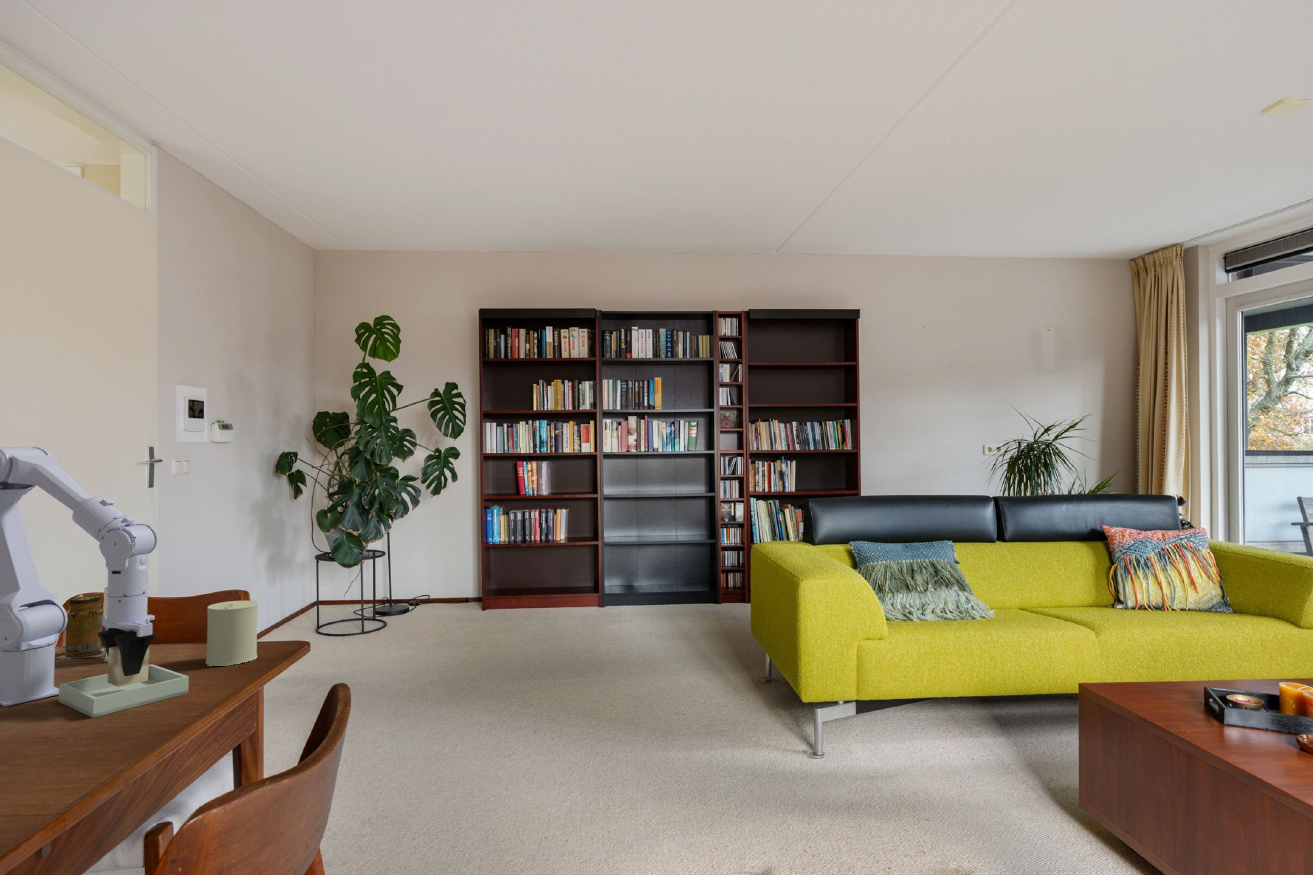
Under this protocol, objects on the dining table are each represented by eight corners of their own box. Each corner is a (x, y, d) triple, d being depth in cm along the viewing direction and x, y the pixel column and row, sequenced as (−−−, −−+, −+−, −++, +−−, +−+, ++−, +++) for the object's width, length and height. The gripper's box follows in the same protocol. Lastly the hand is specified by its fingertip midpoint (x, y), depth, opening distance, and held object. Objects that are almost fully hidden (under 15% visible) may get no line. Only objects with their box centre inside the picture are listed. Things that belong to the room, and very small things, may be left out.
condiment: (78, 650, 153) (80, 594, 154) (119, 649, 154) (121, 594, 154) (53, 659, 146) (54, 601, 146) (96, 658, 147) (98, 600, 147)
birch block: (107, 682, 122) (109, 647, 122) (136, 676, 126) (138, 642, 126) (118, 686, 120) (120, 651, 120) (147, 680, 124) (149, 646, 124)
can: (200, 668, 139) (202, 608, 140) (211, 656, 148) (212, 599, 148) (253, 664, 143) (254, 605, 143) (260, 652, 151) (261, 596, 152)
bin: (58, 701, 120) (59, 684, 120) (151, 680, 132) (152, 664, 132) (93, 717, 113) (93, 698, 113) (188, 693, 125) (188, 676, 125)
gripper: (172, 594, 123) (170, 672, 122) (135, 586, 130) (133, 660, 130) (125, 601, 117) (123, 683, 116) (89, 592, 124) (87, 669, 124)
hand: (125, 672), depth 123 cm, fingers closed on birch block, 4 cm apart
